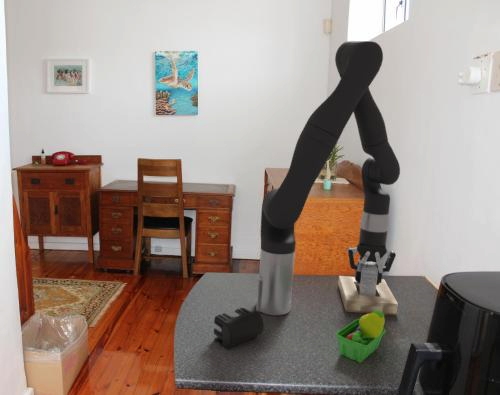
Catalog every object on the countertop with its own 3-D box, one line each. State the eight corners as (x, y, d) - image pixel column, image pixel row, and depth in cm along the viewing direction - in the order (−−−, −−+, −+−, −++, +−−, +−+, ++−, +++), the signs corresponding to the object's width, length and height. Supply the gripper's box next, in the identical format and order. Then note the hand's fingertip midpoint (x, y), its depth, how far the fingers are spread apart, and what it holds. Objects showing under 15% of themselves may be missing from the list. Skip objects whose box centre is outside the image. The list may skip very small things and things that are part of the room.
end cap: (229, 354, 102) (231, 326, 101) (211, 340, 108) (213, 314, 106) (263, 341, 108) (265, 315, 107) (244, 329, 114) (246, 304, 112)
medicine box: (375, 298, 130) (378, 269, 128) (359, 296, 131) (362, 267, 129) (373, 287, 138) (376, 260, 136) (358, 285, 139) (361, 258, 137)
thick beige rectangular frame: (345, 311, 127) (346, 299, 126) (338, 286, 144) (339, 275, 144) (396, 315, 126) (398, 304, 125) (382, 289, 144) (384, 279, 143)
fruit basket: (355, 336, 113) (360, 294, 111) (389, 350, 108) (395, 306, 105) (332, 354, 105) (337, 308, 102) (368, 370, 99) (374, 322, 97)
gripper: (350, 229, 127) (344, 286, 131) (402, 232, 126) (395, 290, 130) (347, 222, 135) (341, 276, 138) (396, 225, 134) (389, 280, 137)
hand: (367, 282), depth 134 cm, fingers closed on medicine box, 4 cm apart
